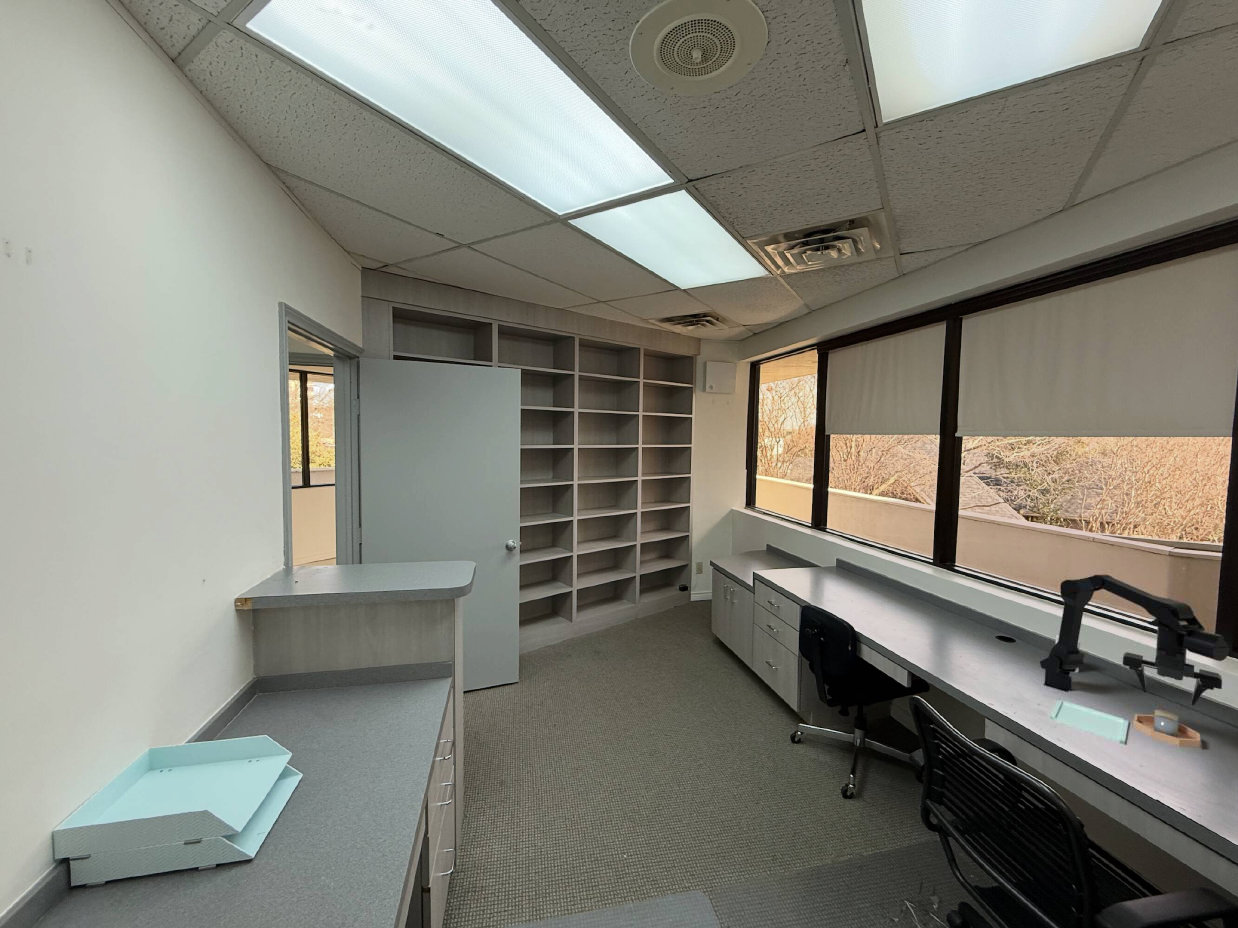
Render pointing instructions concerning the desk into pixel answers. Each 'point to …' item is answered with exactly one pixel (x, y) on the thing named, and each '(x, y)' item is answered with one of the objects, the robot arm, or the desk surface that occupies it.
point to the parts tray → (1090, 721)
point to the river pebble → (1166, 714)
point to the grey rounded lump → (1165, 725)
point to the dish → (1184, 736)
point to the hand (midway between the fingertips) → (1168, 698)
